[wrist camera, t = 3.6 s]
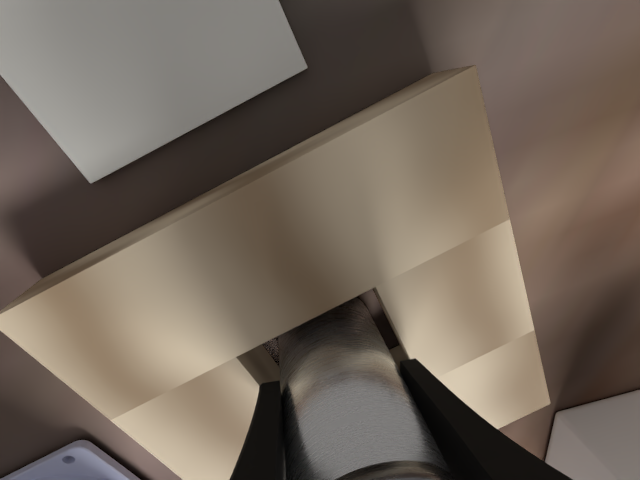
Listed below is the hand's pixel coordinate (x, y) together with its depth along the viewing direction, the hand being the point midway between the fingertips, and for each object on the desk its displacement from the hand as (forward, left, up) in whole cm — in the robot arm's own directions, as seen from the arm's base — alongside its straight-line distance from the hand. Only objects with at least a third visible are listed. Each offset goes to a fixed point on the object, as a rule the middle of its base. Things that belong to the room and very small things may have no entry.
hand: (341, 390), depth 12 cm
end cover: (0, 0, -3) cm, 3 cm away
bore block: (0, 0, -3) cm, 3 cm away
